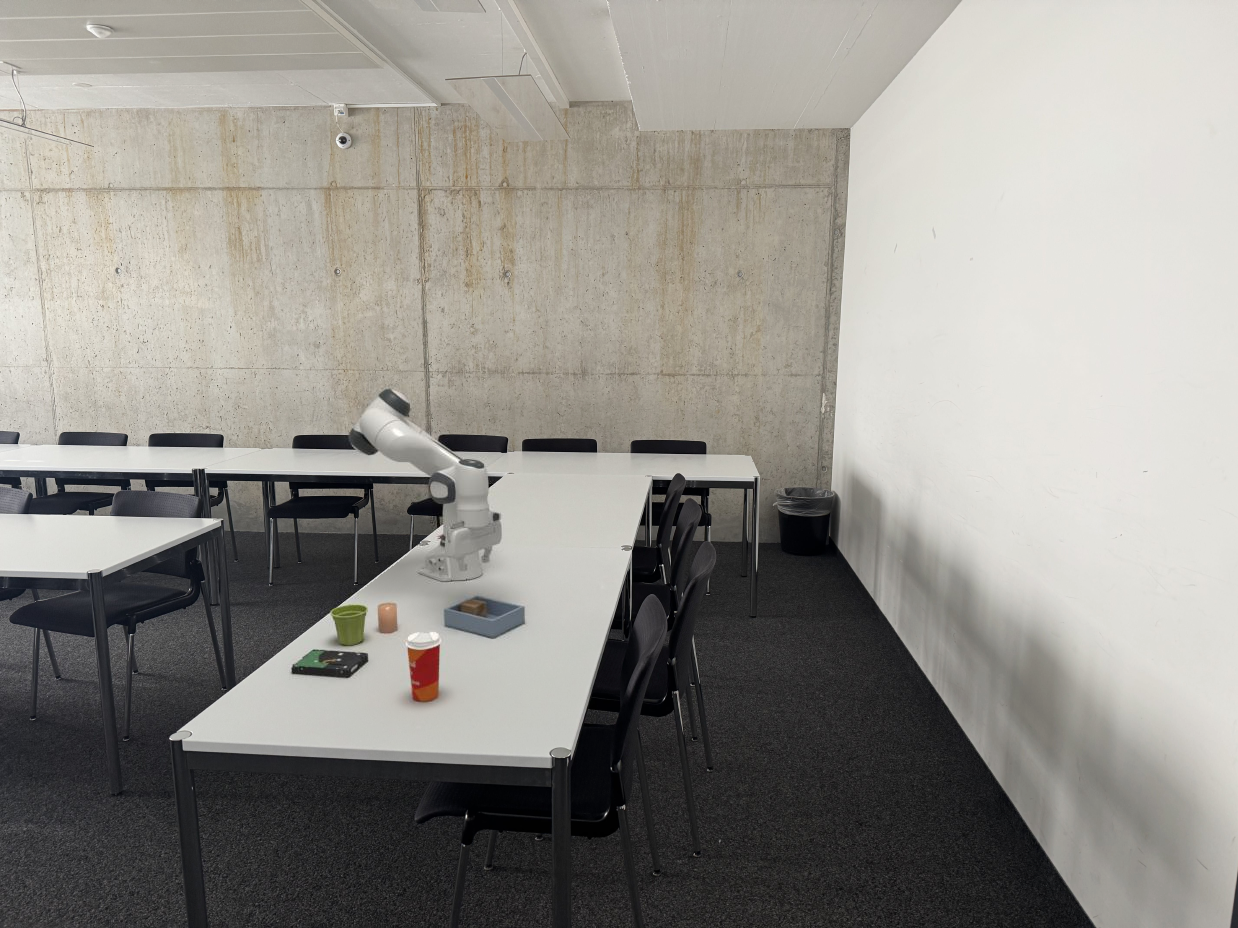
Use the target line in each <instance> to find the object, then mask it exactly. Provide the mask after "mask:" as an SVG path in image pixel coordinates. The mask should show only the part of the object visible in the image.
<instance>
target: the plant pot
mask: <svg viewBox="0 0 1238 928" xmlns="http://www.w3.org/2000/svg"><path fill="white" fill-rule="evenodd" d="M368 611H369V608H368V607H367V606H366V605H365V604H347V605H342V606H341V605H340V606H337V607H335V608H333V609H332V610H330V613H329V614H330V616H331V617H332V619H333V622H334V625H335V630H336V635H337V640H338V643H339V644H340V645H341V646H342V645H345V646H355V645H358V644H359V643H360V642H363V641H364V635H365V623H366V617H367V612H368Z"/></svg>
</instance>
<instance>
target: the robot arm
mask: <svg viewBox="0 0 1238 928" xmlns="http://www.w3.org/2000/svg"><path fill="white" fill-rule="evenodd" d="M410 412H411V404H410V402H409V401H408V398H406V396H405V395H404V394H403V393H401V392H399V390H398V391H397V390H395V389H392V388H386V389H383V390H382V391H381V392H380V393H378V396H377V397H376V398H375V399H374V400H373V401H372V402H371V403H370V404H369V405H368V406H367V408H365V410H364V412H363V413H362V415H361V416H360V418H358V420H357V422H356V423H355V425H354V427H351V429H350V431H349V434H348V443H350V445H351V446H352V447H353V448H354V450H356V451H357V452H359V453H360V454H363V455H366V456H374V455H376V454H377V453H378V452H379V453H381V454H382V455H383V456H384V457H386V458H388V459H389V460H390V461H393V462H397V463H409V464H411V465H412V466H414V467H415V468H416V469H418V470H419V471H421V472H423V473H424V474H425V475H428V476H429V477H430V478H429V480H428V485H427V486H428V493H429V495H430V497H431V499H432V500H433V501H434V502H435V503H437V504H439V505H442V524H443V525H442V526H443V527H442V530H443V533H442V534H441V535H438V536H436V537H437V540H440V542H439V544H438V545H437V546H436V547H435V548H434V549H432V550H431V551H430V552H429V553H427V555H426V556H425V562H424V566H422V567H420V568H419V569H418V570H417V573H418V574H420V575H423V576H425V577H428V578H431V579H434V580H437V581H440V582H450V581H451V580H452V581H465V580H466V579H467V580H472V579H476V578H478V577H481V576H482V575H483V573H484V572H483V569H482V565H481V562H482V564H488V563H490V561H491V560H490V559H491V558H490V556H491V554H492V551H493V547H494V546H496V545H499V544H501V541H502V538H503V535H502V534H503V533H502V530H503V528H502V522H501V520H502V513H501V512H497V511H495V510H490V506H489V501H488V497H489V496H488V495H489V494H490V493H489V492H490V491H489V475H488V471H487V467H486V465H485V464H484V462H482V461H480V460H478V459H473V458H471V459H470V458H462V457H461V456H459V455H457V454H456V452H454V451H452V450H451V449H450V448H448V447H447V446H445V445H444V444H442V443H441V442H440V441H438V440H437V439H435V438H434V437H433V436H432V435H430V434H429V433H428V432H427V431H425V430H424V429H422V428H421V427H419V426H418V425H417V424H415V423H414V422H412V421H410V420H408V419H407V418H410ZM482 550H484V552H483V554H482V556H481V557H480V553H479V551H482ZM480 558H481V560H480ZM467 580H466V581H467Z"/></svg>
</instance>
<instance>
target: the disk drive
mask: <svg viewBox="0 0 1238 928" xmlns="http://www.w3.org/2000/svg"><path fill="white" fill-rule="evenodd" d="M367 663H369V653H368V652H362V651H361V652H359V651H358V652H356V651H344V650H342V651H341V650H327V649H312V650H311V651H309V652H308V653H307V654H304V656H302V658H301V659H299V660H297V662H295V663H293V664H292V665H291V667H290V669H291V675H298V676H299V675H301V676H314V677H327V678H340V679H349V678H350V677H352V676H353V675H354V674H355V673H357V672H358V671H359V670H360V669H362V667H364V666H365V665H366V664H367Z"/></svg>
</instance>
